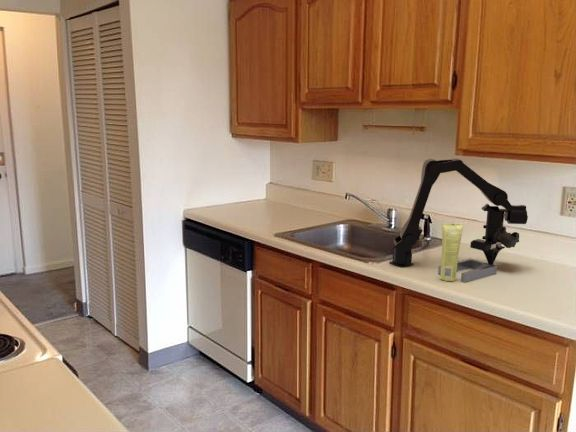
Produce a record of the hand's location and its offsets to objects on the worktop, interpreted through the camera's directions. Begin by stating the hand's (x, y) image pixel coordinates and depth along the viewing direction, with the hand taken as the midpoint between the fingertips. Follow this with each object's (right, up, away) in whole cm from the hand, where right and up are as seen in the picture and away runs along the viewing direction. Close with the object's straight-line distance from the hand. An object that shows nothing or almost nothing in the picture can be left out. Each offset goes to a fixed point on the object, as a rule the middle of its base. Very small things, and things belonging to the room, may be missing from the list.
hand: (490, 265), depth 193 cm
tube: (-20, -4, -14) cm, 24 cm away
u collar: (-11, -2, -8) cm, 14 cm away
